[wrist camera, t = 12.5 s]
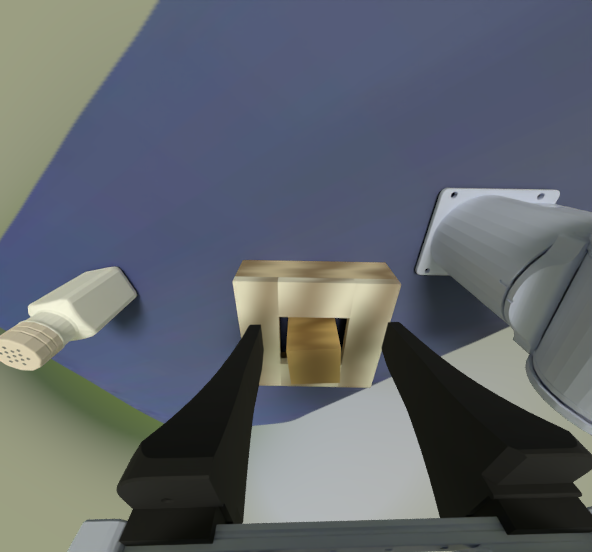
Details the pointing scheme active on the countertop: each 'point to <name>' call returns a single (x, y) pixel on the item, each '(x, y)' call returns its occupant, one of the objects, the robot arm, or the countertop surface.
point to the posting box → (318, 310)
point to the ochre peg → (313, 350)
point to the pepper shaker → (66, 317)
